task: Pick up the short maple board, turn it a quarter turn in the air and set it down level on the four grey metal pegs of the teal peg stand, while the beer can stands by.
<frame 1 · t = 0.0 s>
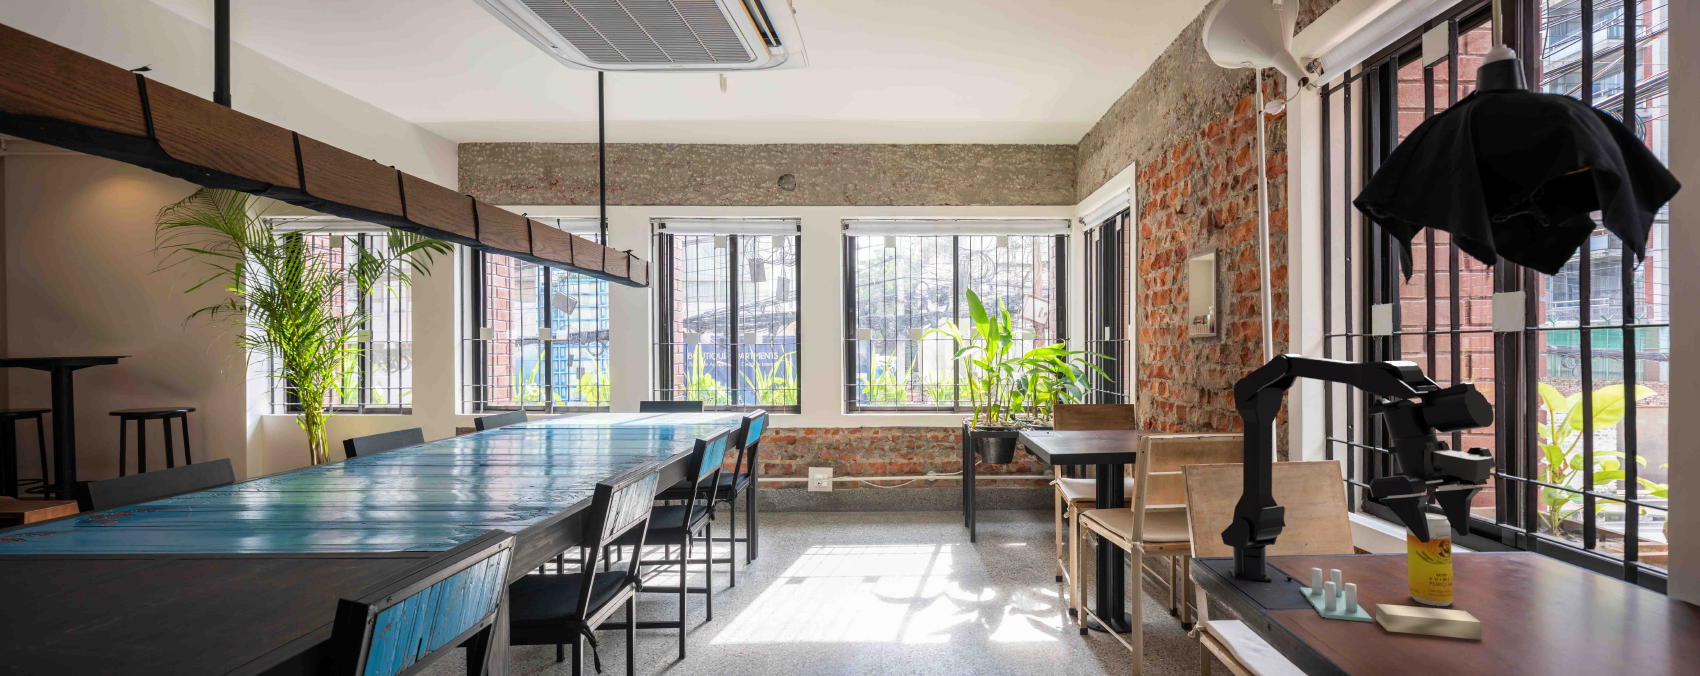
hand: (1445, 539, 108), 15 cm above the table, tool pointing down, fingers open, 9 cm apart
peg stand: (1334, 605, 123), on the table
board: (1427, 631, 112), on the table
beer can: (1431, 601, 124), on the table
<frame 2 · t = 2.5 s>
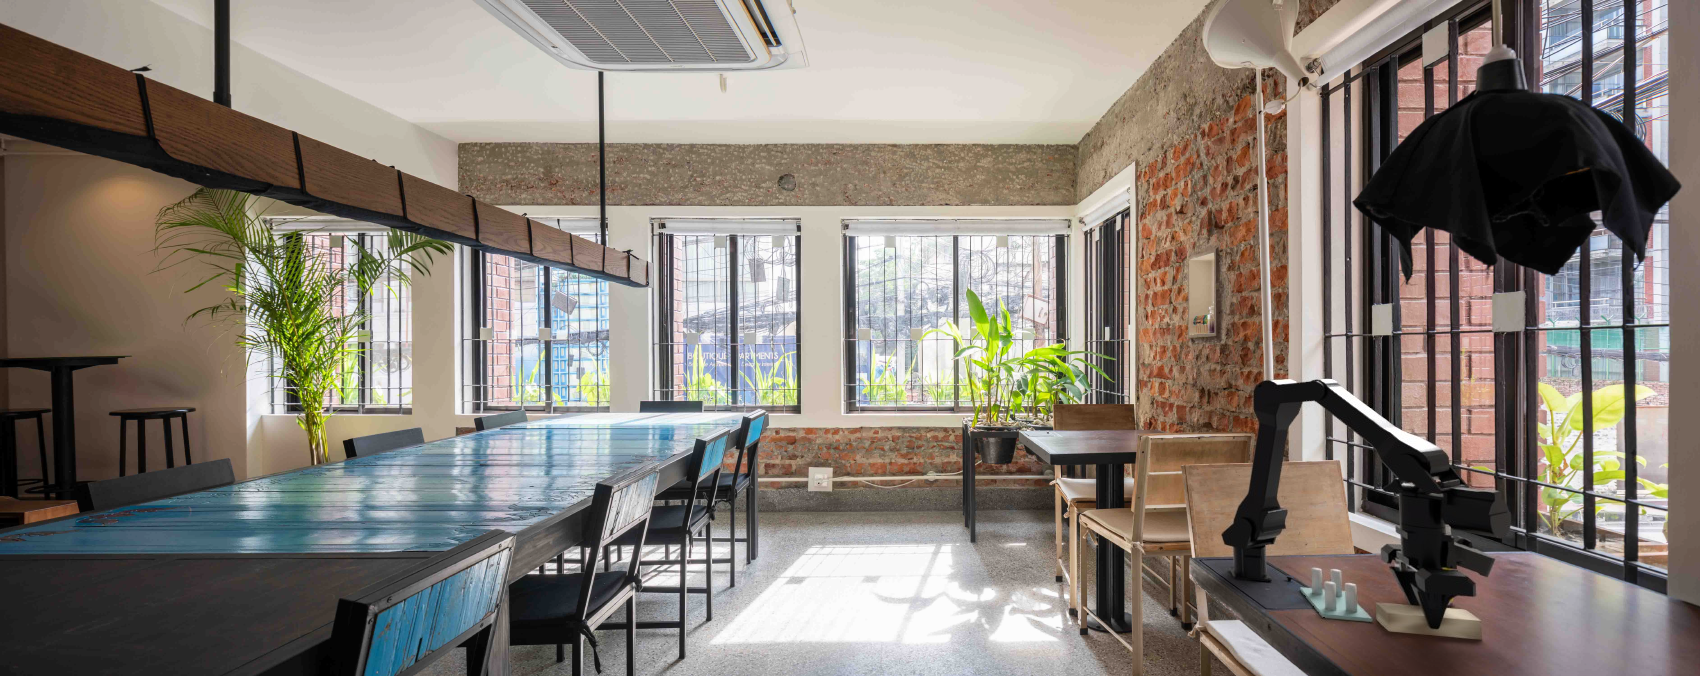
hand: (1426, 622, 112), 1 cm above the table, tool pointing down, fingers closed on board, 5 cm apart
board: (1427, 630, 112), on the table, touching gripper
everything else where it was.
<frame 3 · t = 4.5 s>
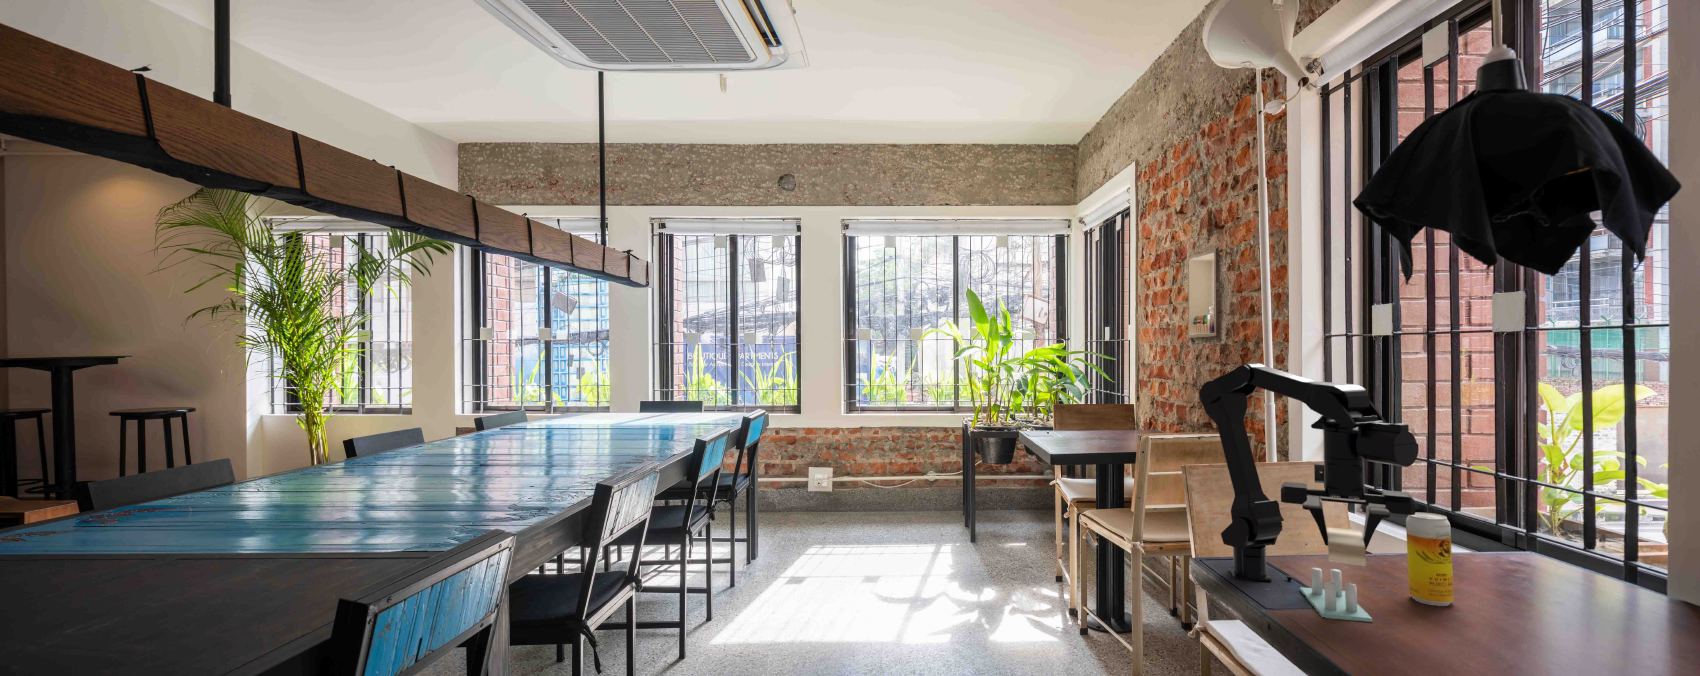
hand: (1345, 547, 121), 11 cm above the table, tool pointing down, fingers closed on board, 5 cm apart
board: (1345, 554, 121), point 9 cm above the table, touching gripper
everything else where it was.
when the fingers open (7 cm above the table, at t = 5.8 s): board stays where it is, resting on peg stand.
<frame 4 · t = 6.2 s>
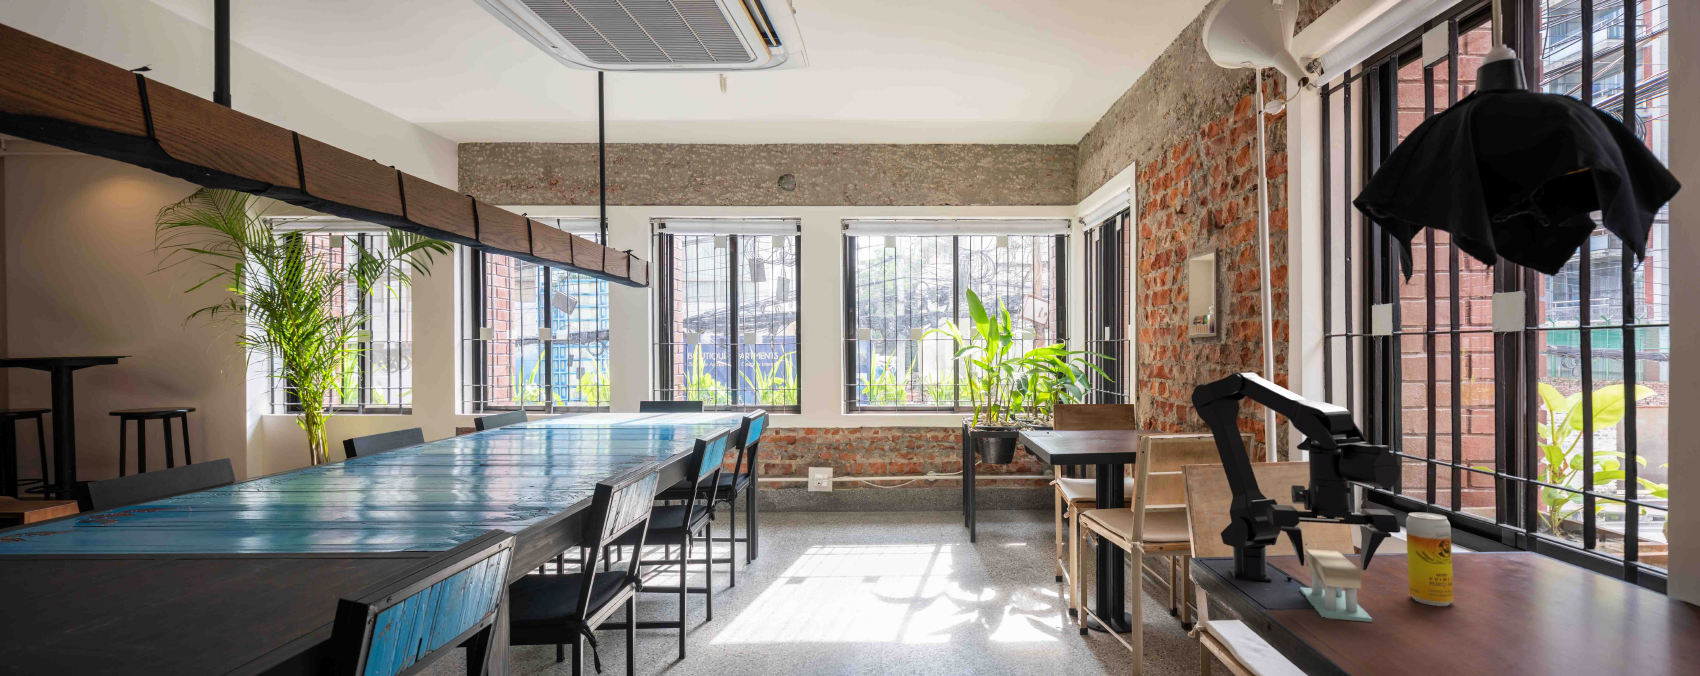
hand: (1332, 567, 123), 7 cm above the table, tool pointing down, fingers open, 9 cm apart
board: (1332, 576, 123), point 5 cm above the table, touching peg stand
everything else where it was.
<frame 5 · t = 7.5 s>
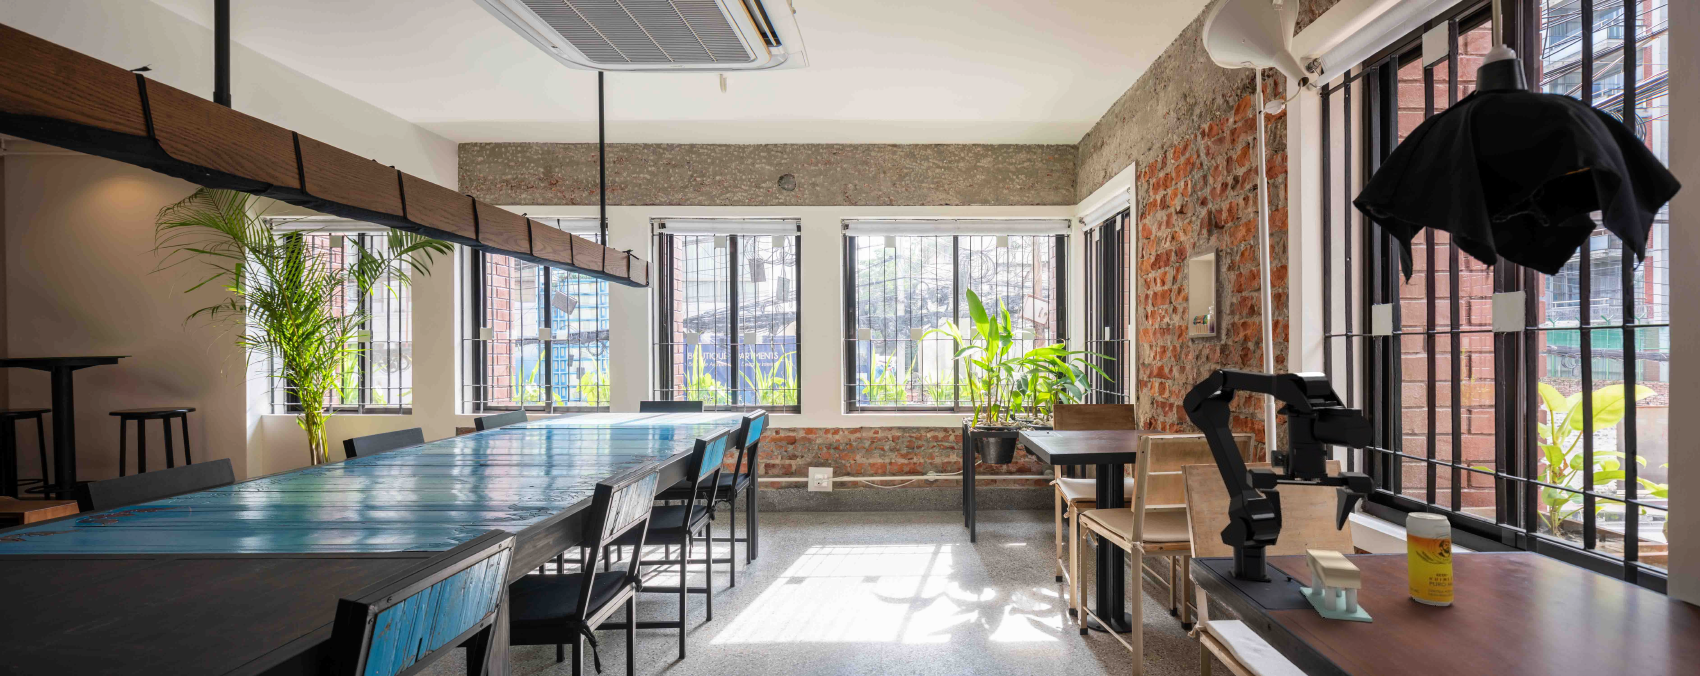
hand: (1309, 528, 126), 13 cm above the table, tool pointing down, fingers open, 9 cm apart
nothing on the table moved.
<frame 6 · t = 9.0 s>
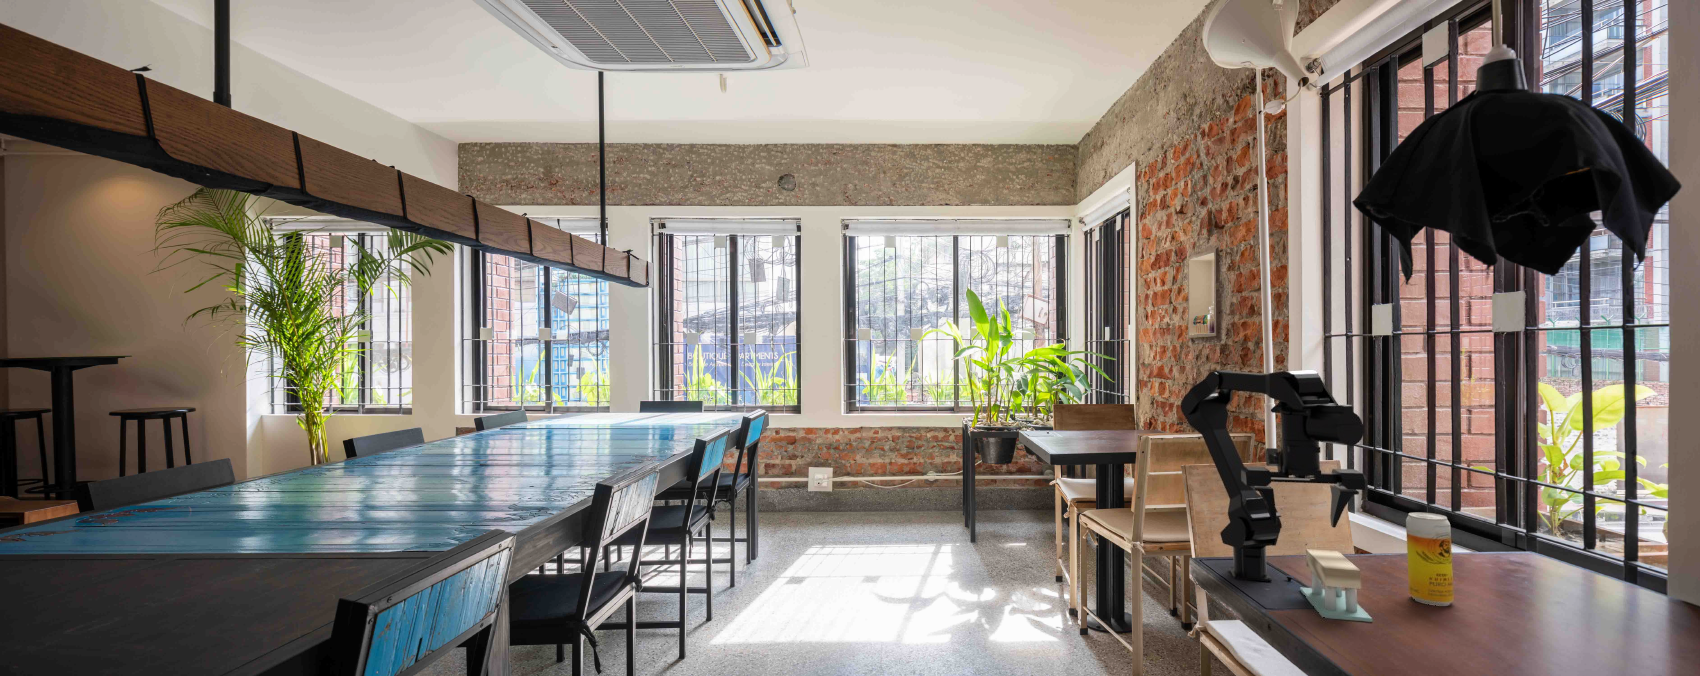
hand: (1303, 525, 127), 13 cm above the table, tool pointing down, fingers open, 9 cm apart
nothing on the table moved.
at the end: board 0.1 cm off-centre on the peg stand, point 5.0 cm above the peg stand's base; board tilted 0°; the gripper is holding nothing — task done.
